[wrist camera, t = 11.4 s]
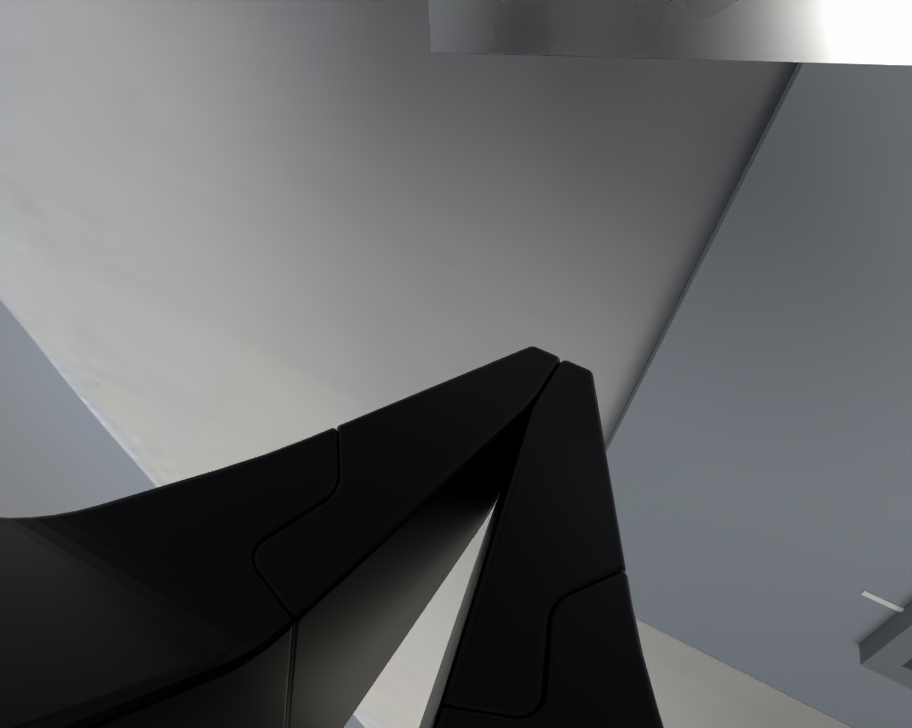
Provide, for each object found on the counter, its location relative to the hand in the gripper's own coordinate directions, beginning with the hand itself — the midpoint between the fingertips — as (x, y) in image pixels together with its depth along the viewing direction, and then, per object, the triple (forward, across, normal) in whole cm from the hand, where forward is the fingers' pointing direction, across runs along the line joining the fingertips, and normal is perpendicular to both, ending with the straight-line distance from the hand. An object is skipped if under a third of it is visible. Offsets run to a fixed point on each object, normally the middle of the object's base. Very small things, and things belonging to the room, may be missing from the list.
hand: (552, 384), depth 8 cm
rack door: (+10, 0, -4) cm, 11 cm away
